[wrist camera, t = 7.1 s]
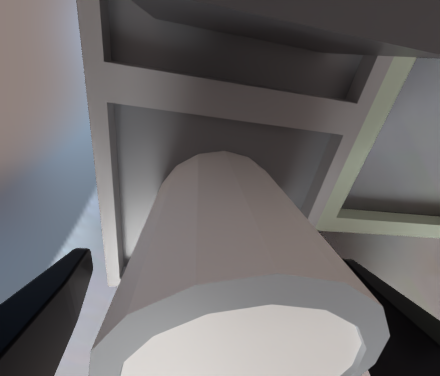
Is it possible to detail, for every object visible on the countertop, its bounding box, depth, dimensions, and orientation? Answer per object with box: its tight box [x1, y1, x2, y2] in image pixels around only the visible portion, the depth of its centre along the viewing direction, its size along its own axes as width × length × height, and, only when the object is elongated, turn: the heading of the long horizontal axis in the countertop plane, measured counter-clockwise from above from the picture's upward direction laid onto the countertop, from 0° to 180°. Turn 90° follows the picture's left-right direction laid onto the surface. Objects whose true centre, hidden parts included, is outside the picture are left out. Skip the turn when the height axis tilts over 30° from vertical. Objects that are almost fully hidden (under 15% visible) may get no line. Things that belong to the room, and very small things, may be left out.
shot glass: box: [88, 151, 390, 376], centre depth 8 cm, size 7×7×7 cm
